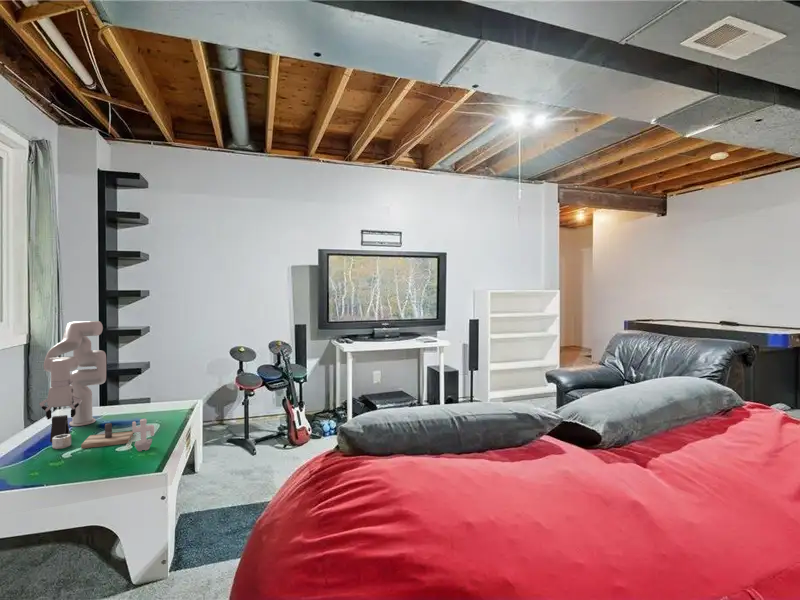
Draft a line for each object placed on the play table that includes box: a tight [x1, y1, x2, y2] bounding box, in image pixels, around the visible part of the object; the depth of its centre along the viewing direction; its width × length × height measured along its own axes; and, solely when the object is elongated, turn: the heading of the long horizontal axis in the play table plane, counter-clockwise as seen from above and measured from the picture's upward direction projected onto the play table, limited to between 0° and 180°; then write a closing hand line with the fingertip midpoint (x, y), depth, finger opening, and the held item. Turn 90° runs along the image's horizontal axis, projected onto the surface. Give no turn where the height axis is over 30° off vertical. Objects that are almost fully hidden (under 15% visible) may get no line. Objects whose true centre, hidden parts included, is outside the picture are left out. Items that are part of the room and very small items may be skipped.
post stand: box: [80, 422, 135, 449], centre depth 224 cm, size 14×20×9 cm
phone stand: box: [49, 414, 71, 442], centre depth 228 cm, size 9×6×12 cm, turn 21°
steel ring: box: [51, 433, 72, 450], centre depth 217 cm, size 7×7×5 cm
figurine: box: [131, 418, 155, 452], centre depth 213 cm, size 7×9×15 cm
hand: (61, 417), depth 216 cm, fingers open, 9 cm apart
